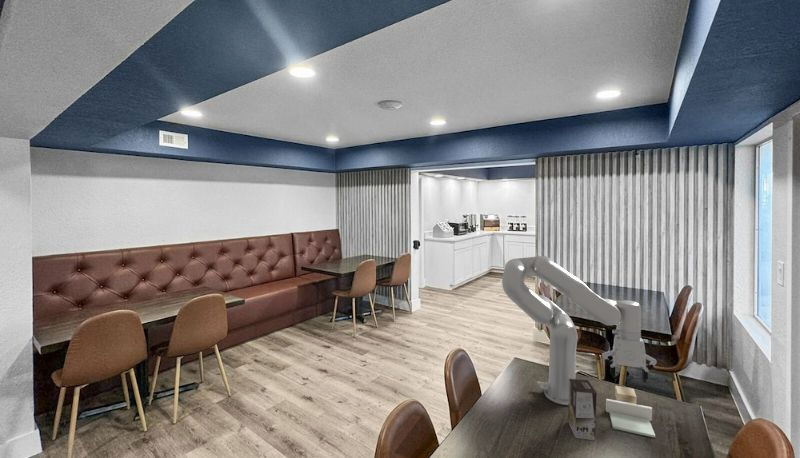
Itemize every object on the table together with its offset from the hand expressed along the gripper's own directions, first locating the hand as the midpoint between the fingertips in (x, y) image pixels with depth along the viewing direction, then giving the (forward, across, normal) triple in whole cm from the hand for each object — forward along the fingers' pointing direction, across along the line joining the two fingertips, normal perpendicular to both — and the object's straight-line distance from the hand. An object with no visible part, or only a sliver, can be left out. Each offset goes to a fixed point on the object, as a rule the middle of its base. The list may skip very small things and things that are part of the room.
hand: (628, 378), depth 132 cm
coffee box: (+10, -17, -23) cm, 30 cm away
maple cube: (+11, -1, 0) cm, 11 cm away
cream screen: (+11, -1, -7) cm, 13 cm away
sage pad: (+11, -1, -13) cm, 17 cm away
